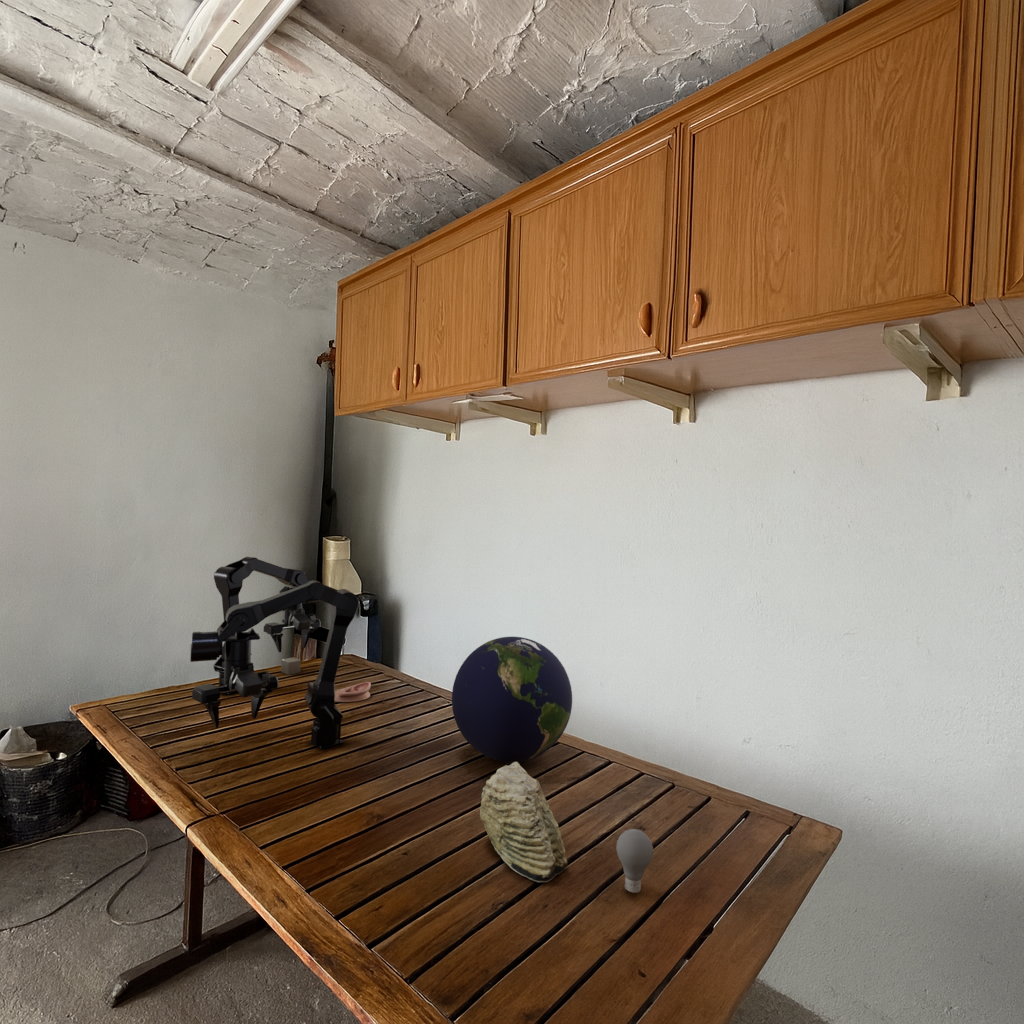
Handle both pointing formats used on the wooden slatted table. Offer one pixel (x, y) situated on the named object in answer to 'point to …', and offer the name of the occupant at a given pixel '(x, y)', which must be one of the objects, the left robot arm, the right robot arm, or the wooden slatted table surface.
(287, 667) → the block
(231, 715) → the wooden slatted table surface
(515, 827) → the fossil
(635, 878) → the light bulb
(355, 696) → the anatomical model
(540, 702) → the globe
